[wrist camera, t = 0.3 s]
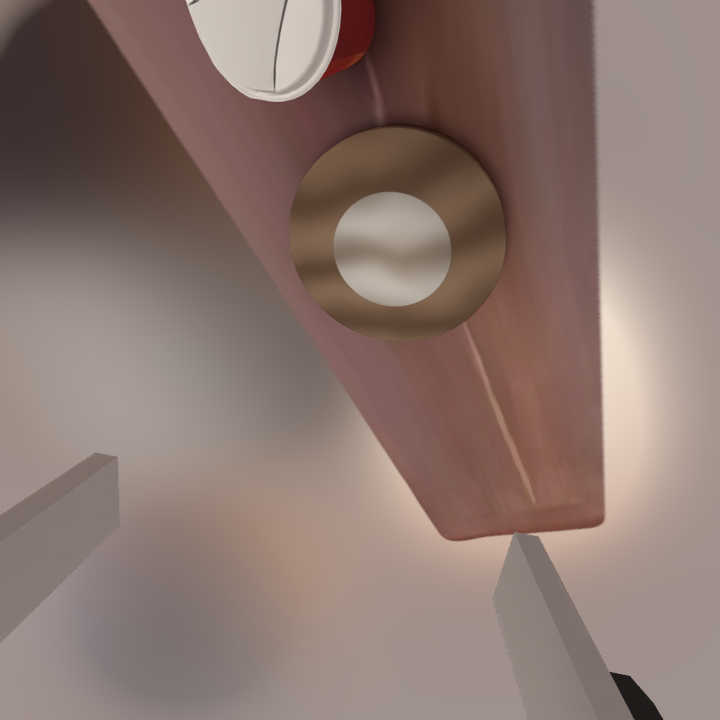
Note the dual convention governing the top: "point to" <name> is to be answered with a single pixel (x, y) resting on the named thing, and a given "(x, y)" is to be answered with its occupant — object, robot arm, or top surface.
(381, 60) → the top surface
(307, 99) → the top surface
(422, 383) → the top surface
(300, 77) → the paper cup
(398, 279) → the disc
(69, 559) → the robot arm
